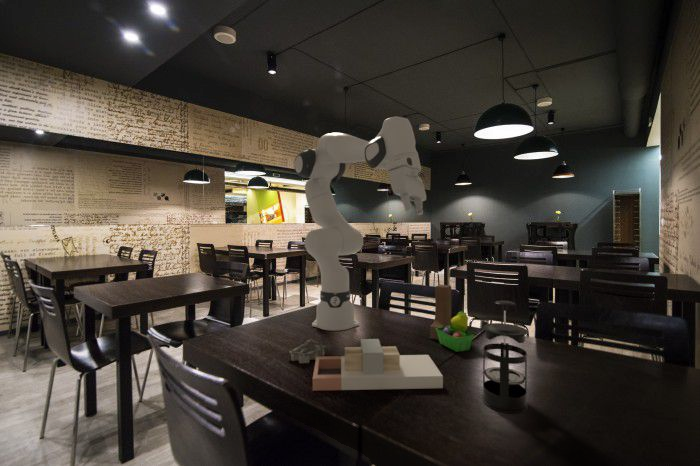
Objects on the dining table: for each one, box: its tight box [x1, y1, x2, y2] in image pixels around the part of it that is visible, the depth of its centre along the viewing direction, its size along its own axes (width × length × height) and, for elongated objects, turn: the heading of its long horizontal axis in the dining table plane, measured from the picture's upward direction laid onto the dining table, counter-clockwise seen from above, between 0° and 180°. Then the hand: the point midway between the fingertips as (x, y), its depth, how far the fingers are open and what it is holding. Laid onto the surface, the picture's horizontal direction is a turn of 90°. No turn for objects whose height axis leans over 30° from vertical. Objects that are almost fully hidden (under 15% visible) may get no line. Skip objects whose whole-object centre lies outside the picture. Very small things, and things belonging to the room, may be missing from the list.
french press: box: [481, 300, 529, 415], centre depth 79 cm, size 12×9×23 cm
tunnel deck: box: [312, 338, 444, 392], centre depth 92 cm, size 14×32×8 cm, turn 92°
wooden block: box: [429, 284, 452, 341], centre depth 125 cm, size 9×4×18 cm, turn 142°
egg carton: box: [288, 338, 327, 364], centre depth 106 cm, size 11×8×4 cm
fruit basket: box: [436, 311, 475, 353], centre depth 115 cm, size 11×9×11 cm
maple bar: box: [344, 345, 401, 371], centre depth 92 cm, size 6×14×4 cm, turn 92°
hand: (414, 212), depth 101 cm, fingers open, 8 cm apart
